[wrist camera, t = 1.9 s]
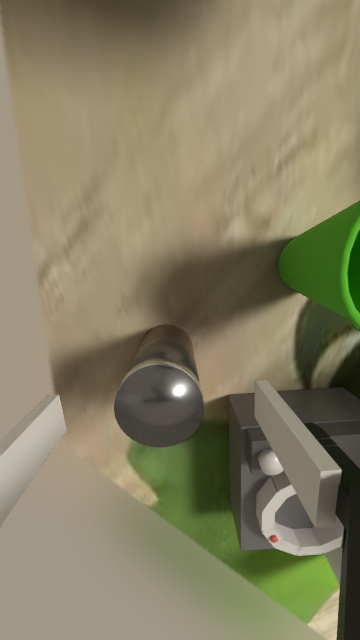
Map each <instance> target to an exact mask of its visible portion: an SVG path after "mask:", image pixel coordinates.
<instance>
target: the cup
mask: <svg viewBox="0 0 360 640" xmlns="http://www.w3.org/2000/svg"><path fill="white" fill-rule="evenodd" d="M278 270H279V275H280V277H281V279H282V281H283V282H284V283H285V284H286V285H287V286H288V287H290V288H291V289H293V290H295V291H297V292H299V293H301V294H302V295H304V296H306V297H308V298H310V299H312V300H313V301H315V302H317V303H319V304H321V305H323V306H324V307H326V308H328V309H330V310H332V311H334V312H335V313H337V314H339V315H341V316H343V317H345V318H346V319H348V320H350V321H351V323H352V324H353V325H354V326H355V328H356V329H357V330H359V331H360V201H358V202H357V203H355V204H353V205H351V206H350V207H348V208H346V209H344V210H343V211H341V212H339V213H337V214H336V215H334V216H332V217H330V218H329V219H327V220H325V221H323V222H322V223H320V224H318V225H316V226H315V227H313V228H311V229H309V230H308V231H306V232H304V233H302V234H301V235H299V236H297V237H295V238H294V239H293V240H291V241H290V242H289V243H288V244H287V245H286V246H285V247H284V249H283V251H282V252H281V254H280V258H279V261H278Z"/></svg>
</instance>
